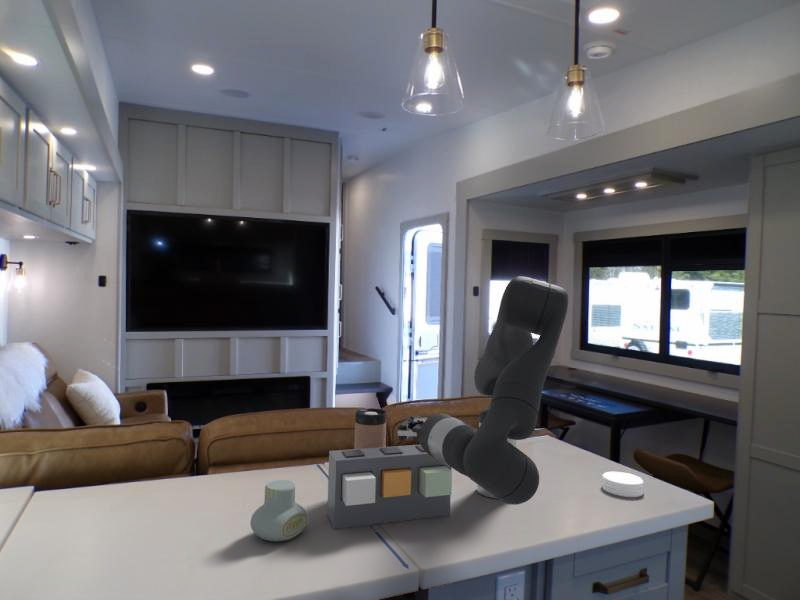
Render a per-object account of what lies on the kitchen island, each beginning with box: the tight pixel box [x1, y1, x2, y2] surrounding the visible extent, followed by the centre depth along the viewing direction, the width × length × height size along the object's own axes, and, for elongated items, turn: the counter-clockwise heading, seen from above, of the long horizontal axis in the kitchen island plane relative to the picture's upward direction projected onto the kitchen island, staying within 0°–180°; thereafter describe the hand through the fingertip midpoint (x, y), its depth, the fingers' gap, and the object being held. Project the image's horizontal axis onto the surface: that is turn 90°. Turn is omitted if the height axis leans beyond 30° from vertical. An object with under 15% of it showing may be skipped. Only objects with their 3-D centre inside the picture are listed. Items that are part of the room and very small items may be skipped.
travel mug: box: [353, 408, 387, 449], centre depth 124 cm, size 8×8×20 cm
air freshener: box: [249, 479, 308, 542], centre depth 102 cm, size 11×8×10 cm
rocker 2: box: [418, 465, 453, 497], centre depth 112 cm, size 6×7×5 cm
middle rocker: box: [380, 468, 411, 497], centre depth 111 cm, size 6×7×5 cm
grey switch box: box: [326, 444, 452, 530], centre depth 112 cm, size 26×7×14 cm, turn 109°
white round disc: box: [601, 471, 645, 498], centre depth 132 cm, size 10×10×4 cm
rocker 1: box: [341, 471, 376, 506], centre depth 106 cm, size 6×7×5 cm
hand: (413, 420), depth 101 cm, fingers closed
